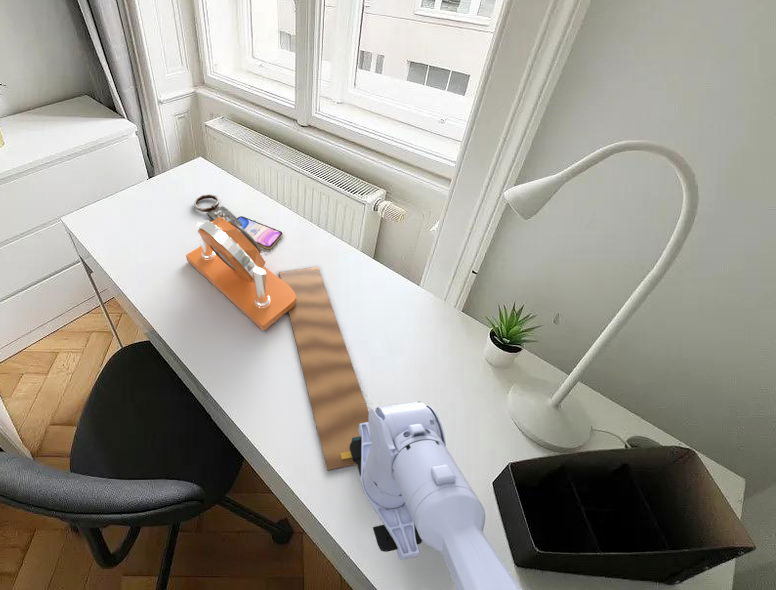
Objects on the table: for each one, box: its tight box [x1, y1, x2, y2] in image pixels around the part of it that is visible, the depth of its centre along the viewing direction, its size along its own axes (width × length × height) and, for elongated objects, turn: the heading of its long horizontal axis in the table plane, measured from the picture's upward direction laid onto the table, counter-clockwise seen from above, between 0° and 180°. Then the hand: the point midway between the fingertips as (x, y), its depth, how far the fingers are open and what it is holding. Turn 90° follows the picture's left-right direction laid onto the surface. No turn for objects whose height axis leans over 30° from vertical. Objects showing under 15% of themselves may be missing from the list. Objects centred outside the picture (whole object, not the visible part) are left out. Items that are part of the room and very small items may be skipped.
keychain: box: [193, 193, 242, 226], centre depth 120 cm, size 8×19×2 cm, turn 36°
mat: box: [278, 266, 369, 471], centre depth 85 cm, size 45×10×1 cm, turn 10°
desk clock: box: [185, 217, 296, 332], centre depth 94 cm, size 12×30×20 cm, turn 43°
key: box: [340, 436, 361, 460], centre depth 68 cm, size 6×2×4 cm, turn 100°
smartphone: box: [236, 215, 284, 250], centre depth 113 cm, size 8×15×1 cm, turn 58°
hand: (376, 504), depth 56 cm, fingers open, 7 cm apart
